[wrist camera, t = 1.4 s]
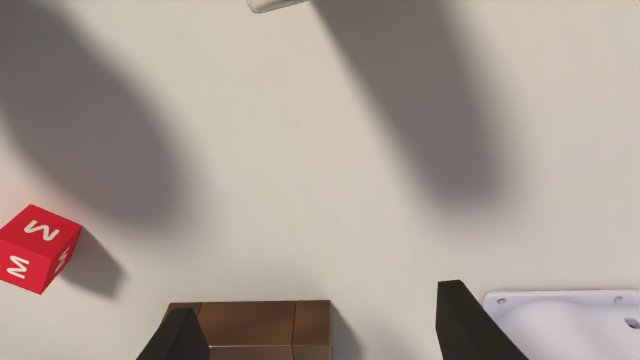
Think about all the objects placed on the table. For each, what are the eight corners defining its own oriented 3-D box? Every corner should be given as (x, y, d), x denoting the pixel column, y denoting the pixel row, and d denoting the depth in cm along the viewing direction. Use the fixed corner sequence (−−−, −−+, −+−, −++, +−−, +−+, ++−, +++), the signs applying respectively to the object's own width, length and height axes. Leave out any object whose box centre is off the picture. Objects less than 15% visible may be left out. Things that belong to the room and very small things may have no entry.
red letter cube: (30, 203, 23) (-8, 235, 21) (82, 225, 24) (52, 259, 21) (20, 239, 25) (-16, 273, 22) (70, 259, 25) (40, 295, 23)
